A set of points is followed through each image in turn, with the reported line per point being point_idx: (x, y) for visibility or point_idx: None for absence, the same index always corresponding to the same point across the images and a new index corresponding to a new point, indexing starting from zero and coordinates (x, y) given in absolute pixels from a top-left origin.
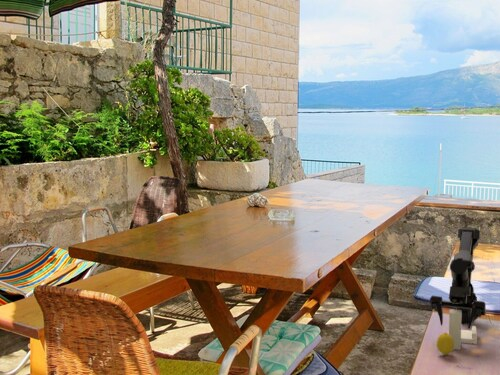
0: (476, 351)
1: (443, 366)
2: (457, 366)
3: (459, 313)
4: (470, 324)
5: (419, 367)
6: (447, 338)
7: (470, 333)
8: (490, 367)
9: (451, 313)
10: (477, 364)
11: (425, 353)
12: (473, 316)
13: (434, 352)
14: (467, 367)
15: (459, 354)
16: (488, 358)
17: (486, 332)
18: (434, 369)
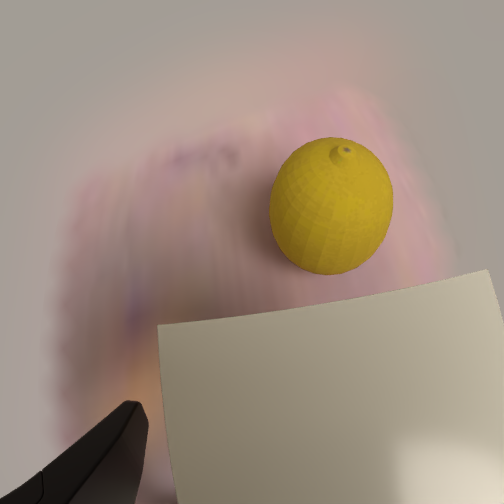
0: (143, 388)
1: (289, 131)
2: (230, 151)
3: (226, 336)
4: (99, 424)
5: (366, 102)
6: (312, 141)
7: None
8: (91, 203)
9: (443, 281)
10: (140, 207)
11: (412, 229)
12: (17, 497)
13: (380, 262)
14: (186, 160)
15: (239, 297)
16: (84, 304)
17: None
18: (313, 102)
